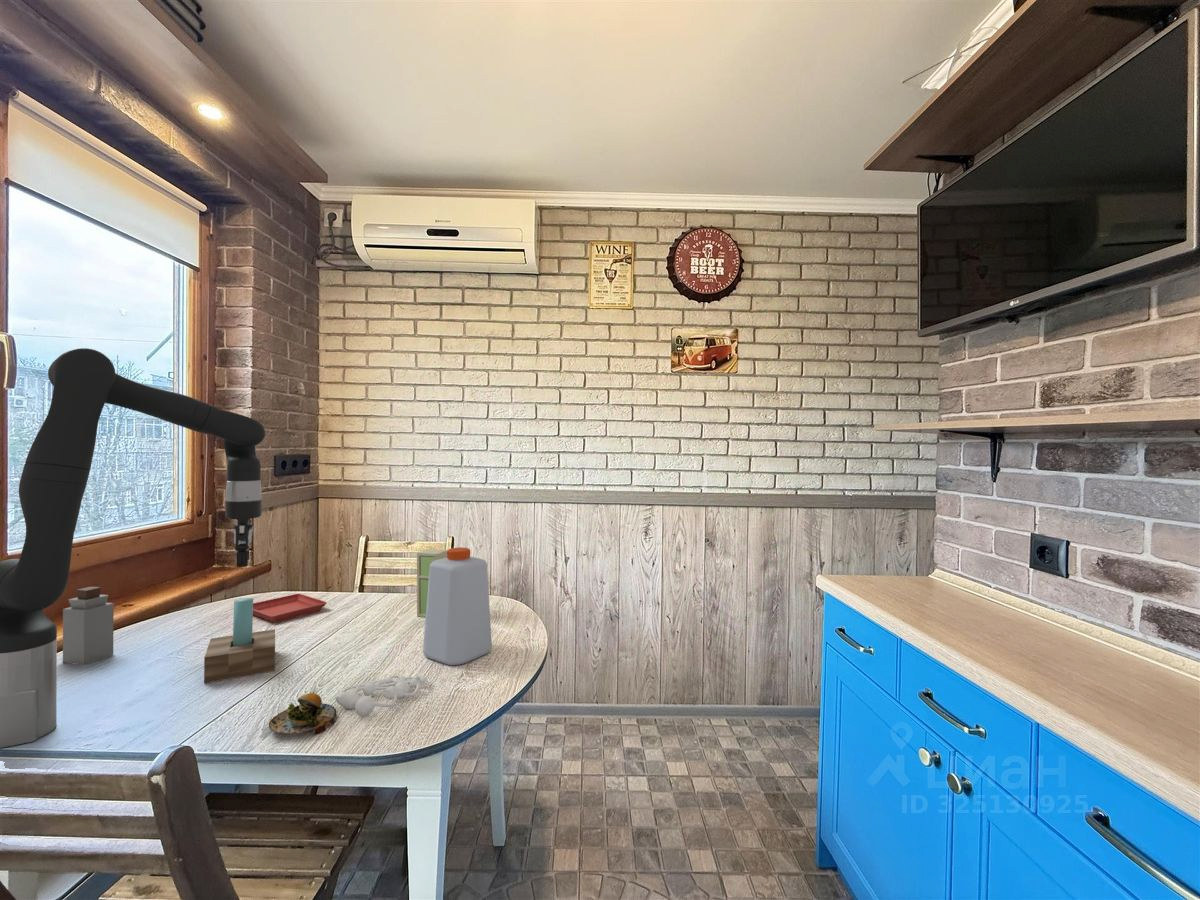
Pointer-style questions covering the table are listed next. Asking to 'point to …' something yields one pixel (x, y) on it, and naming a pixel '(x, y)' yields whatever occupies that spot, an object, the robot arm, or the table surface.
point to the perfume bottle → (88, 627)
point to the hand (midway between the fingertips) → (243, 563)
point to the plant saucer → (287, 607)
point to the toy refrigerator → (425, 576)
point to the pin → (243, 622)
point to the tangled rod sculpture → (367, 703)
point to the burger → (304, 716)
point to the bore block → (239, 657)
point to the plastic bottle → (457, 609)
